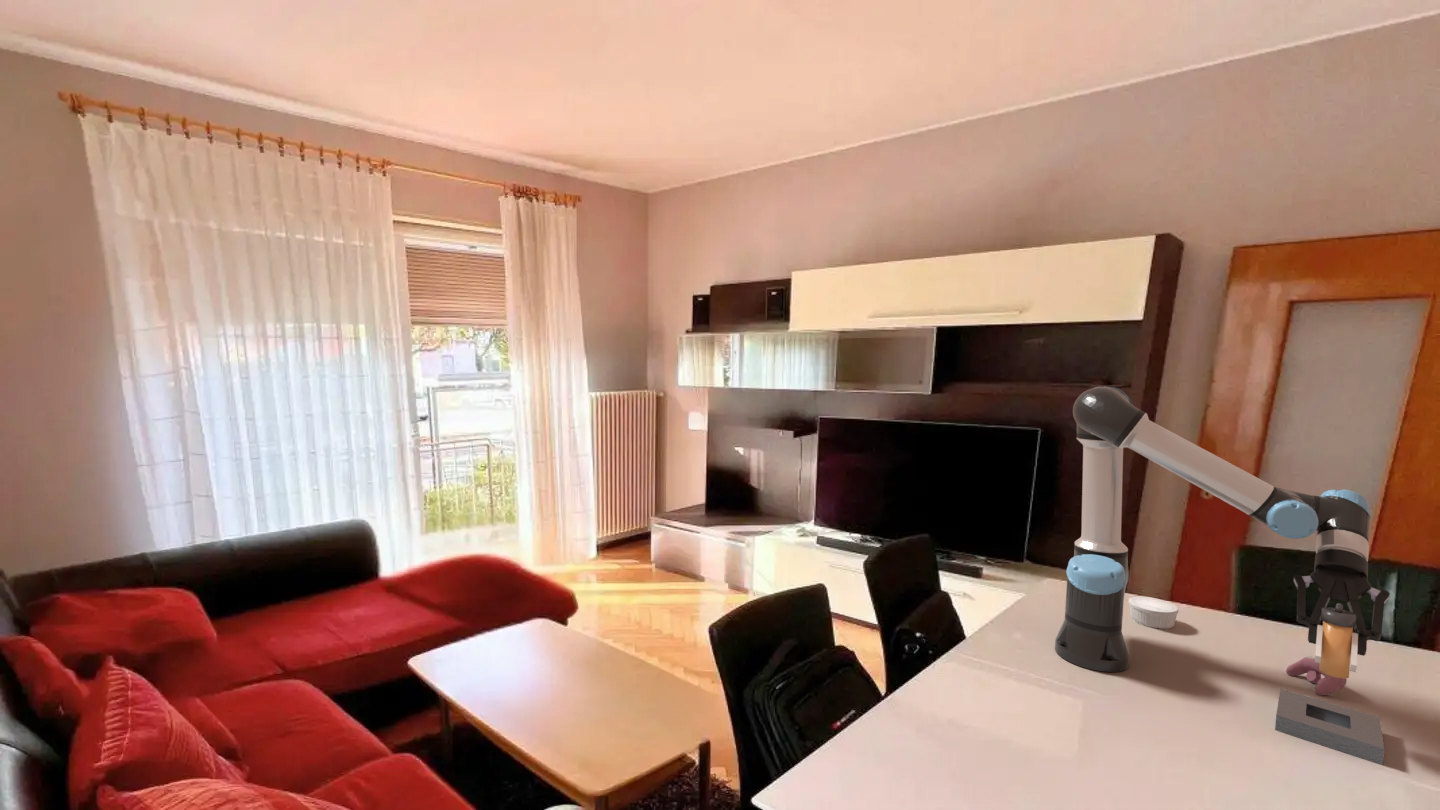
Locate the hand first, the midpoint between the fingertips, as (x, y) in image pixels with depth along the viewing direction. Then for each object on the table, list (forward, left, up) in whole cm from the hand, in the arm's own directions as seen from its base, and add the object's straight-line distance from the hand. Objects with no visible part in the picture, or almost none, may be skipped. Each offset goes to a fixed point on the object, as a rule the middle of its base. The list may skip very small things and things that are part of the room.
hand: (1335, 663), depth 112 cm
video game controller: (-2, +26, -15) cm, 30 cm away
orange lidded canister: (0, +4, -3) cm, 5 cm away
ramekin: (-34, +40, -15) cm, 55 cm away
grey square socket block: (0, +4, -15) cm, 15 cm away
